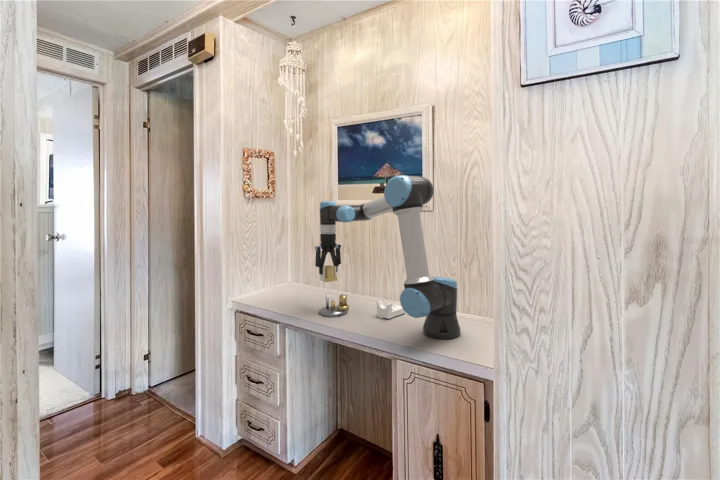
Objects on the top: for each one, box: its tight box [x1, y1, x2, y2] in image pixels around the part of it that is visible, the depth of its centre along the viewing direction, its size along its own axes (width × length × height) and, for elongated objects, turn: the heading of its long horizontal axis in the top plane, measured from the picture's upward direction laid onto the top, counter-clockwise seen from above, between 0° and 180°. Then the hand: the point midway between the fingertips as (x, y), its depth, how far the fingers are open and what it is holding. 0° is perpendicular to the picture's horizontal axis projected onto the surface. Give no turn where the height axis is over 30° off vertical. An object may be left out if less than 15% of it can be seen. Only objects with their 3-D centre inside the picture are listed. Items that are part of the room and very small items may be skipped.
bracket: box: [376, 300, 407, 319], centre depth 176 cm, size 13×7×8 cm, turn 134°
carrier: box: [319, 293, 350, 318], centre depth 180 cm, size 13×14×9 cm
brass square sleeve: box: [319, 265, 338, 283], centre depth 182 cm, size 6×6×7 cm
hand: (328, 279), depth 183 cm, fingers closed on brass square sleeve, 6 cm apart
